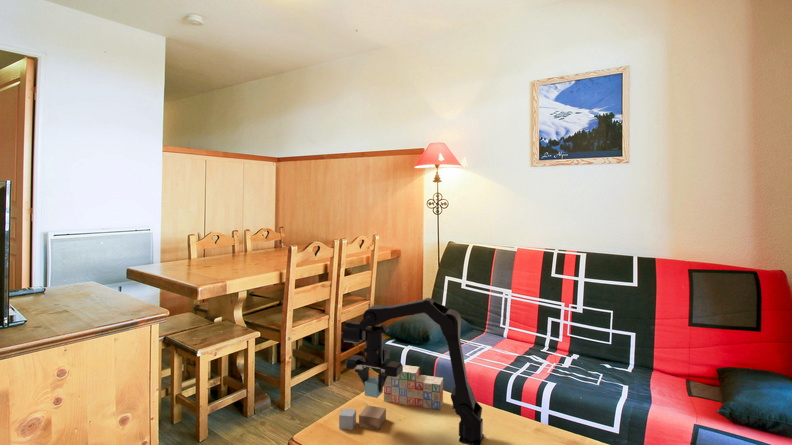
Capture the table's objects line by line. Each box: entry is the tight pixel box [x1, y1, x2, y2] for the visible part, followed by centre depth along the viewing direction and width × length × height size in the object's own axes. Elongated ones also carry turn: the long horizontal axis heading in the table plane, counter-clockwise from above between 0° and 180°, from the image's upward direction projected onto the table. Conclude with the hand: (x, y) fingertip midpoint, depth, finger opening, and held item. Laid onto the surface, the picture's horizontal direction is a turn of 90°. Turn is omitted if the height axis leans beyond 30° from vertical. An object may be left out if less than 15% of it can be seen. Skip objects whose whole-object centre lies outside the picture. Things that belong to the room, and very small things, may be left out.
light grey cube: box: [338, 408, 357, 431], centre depth 130 cm, size 4×4×4 cm
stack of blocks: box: [383, 364, 444, 411], centre depth 147 cm, size 21×6×12 cm, turn 72°
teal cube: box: [364, 376, 384, 399], centre depth 132 cm, size 4×4×4 cm
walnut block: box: [358, 404, 387, 431], centre depth 132 cm, size 7×7×4 cm
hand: (373, 390), depth 132 cm, fingers closed on teal cube, 4 cm apart
